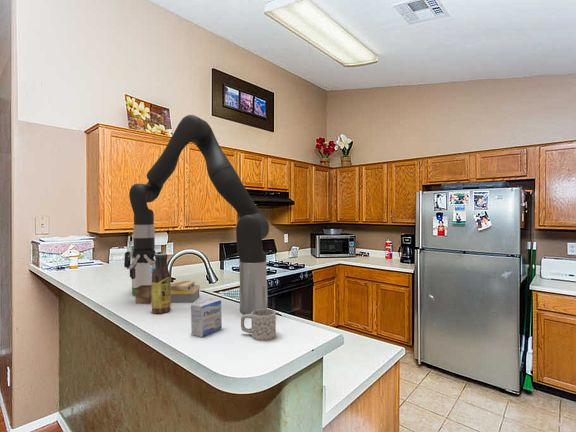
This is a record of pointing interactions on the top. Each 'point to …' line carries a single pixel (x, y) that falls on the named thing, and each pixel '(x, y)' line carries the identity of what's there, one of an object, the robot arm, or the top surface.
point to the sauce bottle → (161, 285)
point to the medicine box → (206, 317)
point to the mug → (261, 324)
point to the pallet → (181, 285)
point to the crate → (143, 294)
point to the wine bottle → (141, 275)
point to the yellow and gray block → (186, 294)
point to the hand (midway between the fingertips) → (144, 278)
